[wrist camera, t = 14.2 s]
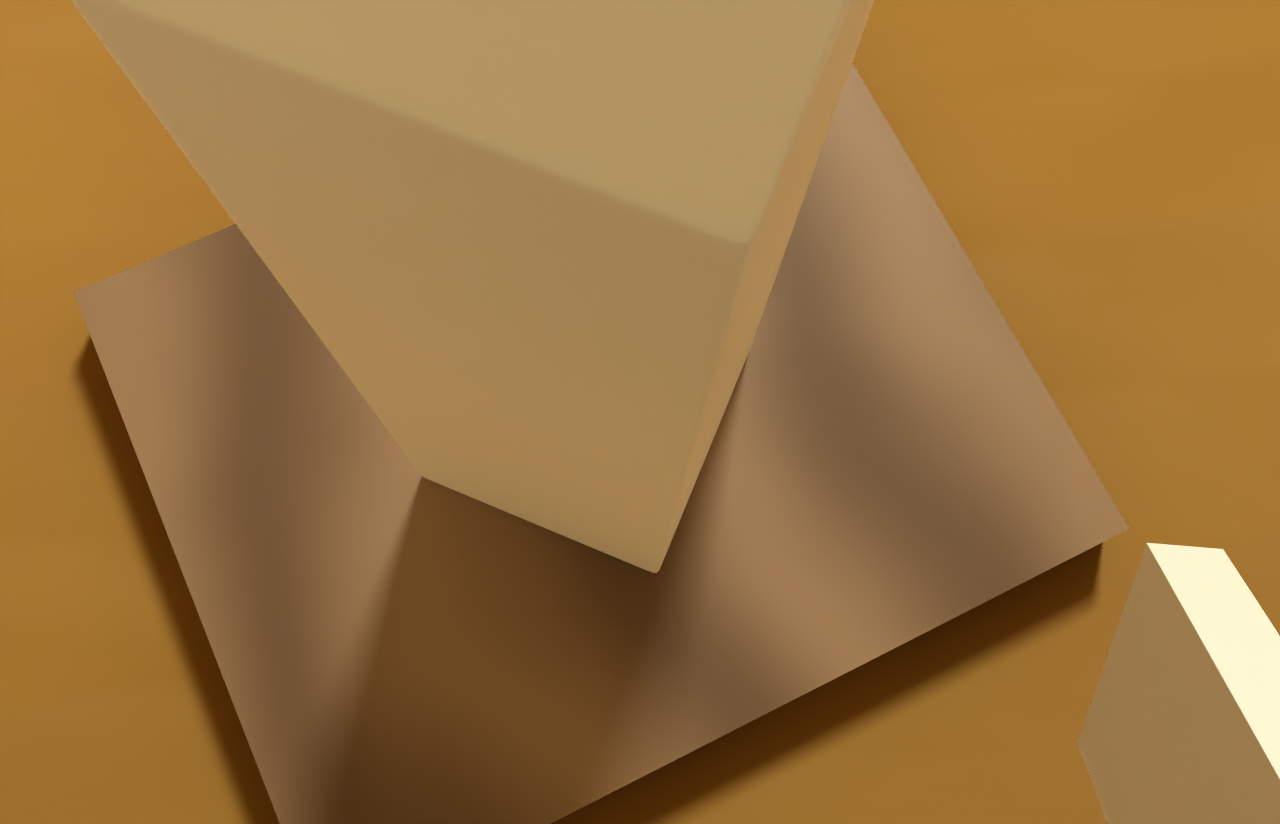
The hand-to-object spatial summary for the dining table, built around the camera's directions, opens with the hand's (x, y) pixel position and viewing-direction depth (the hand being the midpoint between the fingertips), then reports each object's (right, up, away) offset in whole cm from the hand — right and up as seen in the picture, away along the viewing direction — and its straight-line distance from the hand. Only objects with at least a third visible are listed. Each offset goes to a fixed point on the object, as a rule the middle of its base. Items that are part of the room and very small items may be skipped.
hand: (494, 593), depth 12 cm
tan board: (0, +2, +17) cm, 17 cm away
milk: (0, +2, +16) cm, 16 cm away
